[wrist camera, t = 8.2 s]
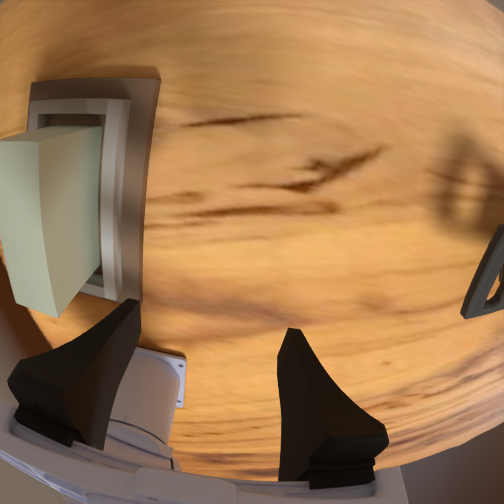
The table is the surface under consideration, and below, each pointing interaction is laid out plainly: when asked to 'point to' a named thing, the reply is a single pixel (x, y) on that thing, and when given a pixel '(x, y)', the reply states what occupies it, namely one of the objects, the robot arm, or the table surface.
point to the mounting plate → (109, 167)
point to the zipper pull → (487, 280)
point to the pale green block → (50, 213)
